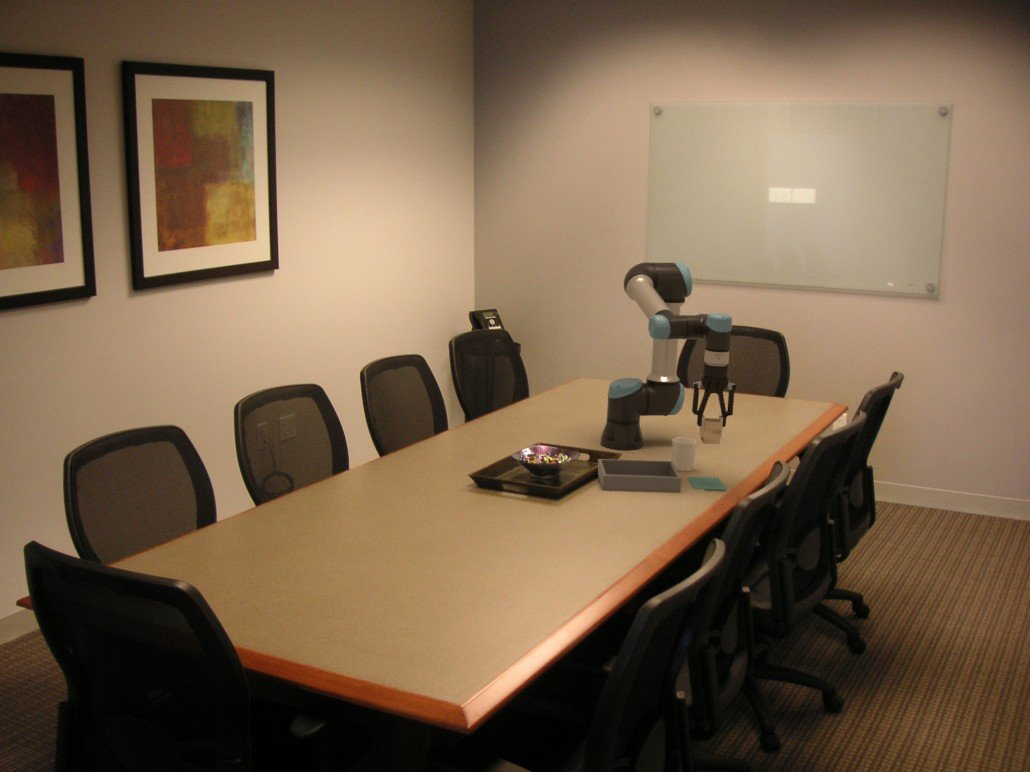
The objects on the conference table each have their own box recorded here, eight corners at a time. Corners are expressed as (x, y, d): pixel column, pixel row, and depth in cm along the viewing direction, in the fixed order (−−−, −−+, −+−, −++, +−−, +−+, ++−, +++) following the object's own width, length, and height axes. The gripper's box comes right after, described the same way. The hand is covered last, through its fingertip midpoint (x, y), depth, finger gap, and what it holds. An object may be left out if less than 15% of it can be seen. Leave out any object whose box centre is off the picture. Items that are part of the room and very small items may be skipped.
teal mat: (687, 478, 354) (687, 476, 354) (718, 479, 354) (718, 477, 354) (694, 490, 342) (694, 488, 342) (725, 491, 342) (726, 489, 342)
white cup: (693, 473, 359) (696, 444, 357) (669, 471, 360) (671, 442, 358) (694, 467, 366) (697, 438, 364) (671, 464, 368) (673, 436, 366)
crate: (597, 473, 355) (598, 458, 354) (671, 476, 356) (672, 461, 354) (602, 491, 337) (603, 475, 336) (680, 493, 338) (681, 478, 337)
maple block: (700, 439, 347) (702, 417, 346) (716, 439, 347) (718, 418, 346) (703, 443, 342) (705, 421, 341) (719, 444, 342) (721, 422, 341)
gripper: (689, 365, 335) (683, 438, 341) (747, 367, 336) (741, 440, 341) (685, 360, 343) (679, 432, 348) (742, 362, 343) (736, 434, 348)
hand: (710, 436), depth 344 cm, fingers closed on maple block, 5 cm apart
